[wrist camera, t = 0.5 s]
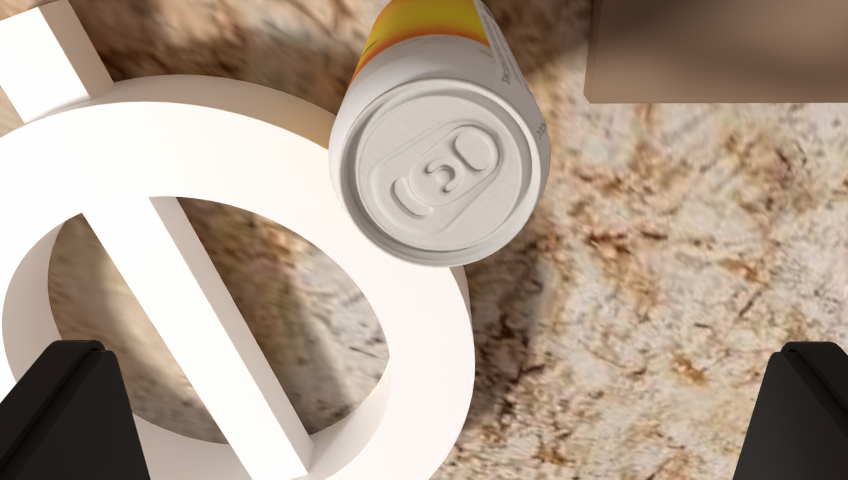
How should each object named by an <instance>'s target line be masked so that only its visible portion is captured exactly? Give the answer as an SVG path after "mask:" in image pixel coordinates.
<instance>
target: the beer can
mask: <svg viewBox="0 0 848 480" xmlns="http://www.w3.org/2000/svg"><path fill="white" fill-rule="evenodd" d="M550 154H551V150H550V141H549V135H548V131H547V127H546V124H545V121H544V119H543V116H542V114H541V112H540V109H539V107H538V105H537V103H536V101H535V99H534V97H533V95H532V93H531V91H530V89H529V87H528V85H527V83H526V81H525V79H524V77H523V75H522V73H521V71H520V69H519V67H518V64H517V62H516V60H515V58H514V56H513V54H512V52H511V50H510V48H509V46H508V44H507V42H506V40H505V38H504V36H503V34H502V32H501V30H500V28H499V26H498V24H497V22H496V20H495V18H494V16H493V15H492V13H491V12H490V10H489V9H488V8H487V7H486V6H485V4H484V3H483V2H481V1H480V0H392V1H391V2H390V3H388V4H387V5H386V7H385V8H384V9H383V10H382V11H381V13H380V14H379V16H378V17H377V19H376V21H375V23H374V25H373V28H372V30H371V33H370V35H369V38H368V40H367V43H366V45H365V48H364V50H363V52H362V55H361V57H360V60H359V62H358V65H357V67H356V70H355V72H354V75H353V77H352V80H351V82H350V85H349V87H348V90H347V92H346V95H345V97H344V100H343V102H342V104H341V107H340V109H339V112H338V114H337V117H336V120H335V122H334V125H333V128H332V132H331V136H330V141H329V151H328V163H329V172H330V178H331V181H332V185H333V188H334V191H335V193H336V196H337V198H338V200H339V202H340V204H341V206H342V207H343V209H344V211H345V212H346V214H347V215H348V216H349V218H350V219H351V221H352V223H353V224H354V225H355V227H356V228H357V229H358V231H359V232H360V233H361V234H362V235H363V236H364V237H365V238H366V239H367V240H368V241H369V242H370V243H371V244H372V245H374V246H375V247H376V248H378V249H379V250H381V251H382V252H384V253H386V254H387V255H389V256H391V257H393V258H395V259H398V260H400V261H403V262H406V263H409V264H413V265H418V266H423V267H433V268H446V267H455V266H461V265H465V264H469V263H472V262H475V261H478V260H481V259H483V258H485V257H487V256H489V255H491V254H493V253H495V252H496V251H498V250H499V249H501V248H502V247H503V246H505V245H506V244H507V243H509V242H510V241H511V240H512V239H513V238H514V237H515V236H516V235H517V234H518V233H519V232H520V230H521V229H522V228H523V227H524V225H525V224H526V222H527V221H528V219H529V217H530V216H531V214H532V212H533V211H534V209H535V208H536V206H537V204H538V202H539V200H540V198H541V196H542V194H543V191H544V189H545V186H546V183H547V179H548V175H549V169H550Z"/></svg>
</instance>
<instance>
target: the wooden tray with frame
mask: <svg viewBox="0 0 848 480" xmlns="http://www.w3.org/2000/svg"><path fill="white" fill-rule="evenodd" d="M584 96H585V97H586V98H587V100H588V101H589V102H590V103H848V0H594V4H593V13H592V22H591V31H590V40H589V49H588V58H587V67H586V76H585V85H584Z"/></svg>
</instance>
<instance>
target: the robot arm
mask: <svg viewBox="0 0 848 480" xmlns="http://www.w3.org/2000/svg"><path fill="white" fill-rule="evenodd" d="M0 480H151V479H150V475H149V471H148V468H147V464H146V461H145V457H144V453H143V450H142V446H141V443H140V439H139V436H138V432H137V428H136V425H135V421H134V418H133V414H132V410H131V407H130V403H129V400H128V396H127V392H126V389H125V385H124V382H123V378H122V375H121V371H120V367H119V364H118V360H117V357H116V355H115V354H114V352H113V351H110V350H105V348H104V346H103V344H102V343H101V342H100V341H96V340H57V341H54V342H52V343H51V344H50V345H49V346H47V348H46V349H45V350H44V351H43V352H42V354H41V355H40V356H39V357H38V358H37V360H36V361H35V362H34V363H33V364H32V366H31V367H30V368H29V369H28V370H27V372H26V373H25V374H24V375H23V376H22V377H21V379H20V380H19V381H18V382H17V383H16V385H15V386H14V387H13V388H12V389H11V391H10V392H9V393H8V394H7V395H6V397H5V398H4V399H3V400H2V401H1V403H0ZM733 480H848V355H847V354H846V353H845V352H844V351H843V350H842V349H841V348H840V347H839V346H838V345H837V344H836V343H833V342H788V343H786V344H785V345H784V346H783V347H782V349H781V352H775V353H773V354H772V355H771V357H770V359H769V361H768V365H767V368H766V371H765V374H764V378H763V381H762V384H761V388H760V391H759V394H758V398H757V401H756V404H755V407H754V411H753V414H752V417H751V421H750V424H749V427H748V430H747V434H746V437H745V440H744V444H743V447H742V450H741V453H740V457H739V460H738V463H737V467H736V470H735V473H734V477H733Z"/></svg>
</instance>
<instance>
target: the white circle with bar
mask: <svg viewBox="0 0 848 480" xmlns="http://www.w3.org/2000/svg"><path fill="white" fill-rule="evenodd" d="M0 85H1V87H2V88H3V90H4V91H5V93H6V94H7V96H8V98H9V99H10V101H11V102H12V104H13V105H14V107H15V108H16V110H17V112H18V113H19V115H20V116H21V118H22V119H23V121H24V123H25V124H23V125H22V126H20V127H18V128H17V129H15V130H13V131H12V132H10V133H8V134H6V135H5V136H3V137H1V138H0V403H1V401H2V400H3V399H4V398H5V397H6V395H7V394H8V393H9V392H10V391H11V389H12V388H13V387H14V386H15V385H16V383H17V382H18V381H19V380H20V379H21V377H22V376H23V375H24V374H25V373H26V372H27V370H28V369H29V368H30V367H31V366H32V364H33V363H34V362H35V361H36V360H37V358H38V357H39V356H40V355H41V354H42V352H43V351H44V350H45V349H46V348H47V346H49V345H50V344H51V343H52V342H54V341H57V340H62V338H61V336H60V334H59V332H58V329H57V327H56V324H55V321H54V318H53V315H52V311H51V307H50V302H49V296H48V268H49V261H50V256H51V252H52V249H53V246H54V243H55V240H56V238H57V235H58V234H59V232H60V230H61V228H62V226H63V224H64V223H65V221H66V220H67V219H69V218H71V217H73V216H75V215H77V214H79V213H83V215H84V217H85V218H86V220H87V221H88V223H89V224H90V226H91V227H92V229H93V231H94V232H95V234H96V235H97V237H98V238H99V240H100V242H101V243H102V245H103V246H104V248H105V249H106V251H107V253H108V254H109V256H110V257H111V259H112V260H113V262H114V263H115V265H116V267H117V268H118V270H119V271H120V273H121V274H122V276H123V278H124V279H125V281H126V282H127V284H128V285H129V287H130V289H131V290H132V292H133V293H134V295H135V296H136V298H137V299H138V301H139V303H140V304H141V306H142V307H143V309H144V310H145V312H146V314H147V315H148V317H149V318H150V320H151V321H152V323H153V325H154V326H155V328H156V329H157V331H158V332H159V334H160V335H161V337H162V339H163V340H164V342H165V343H166V345H167V346H168V348H169V350H170V351H171V353H172V354H173V356H174V357H175V359H176V361H177V362H178V364H179V365H180V367H181V368H182V370H183V371H184V373H185V375H186V376H187V378H188V379H189V381H190V382H191V384H192V386H193V387H194V389H195V390H196V392H197V393H198V395H199V397H200V398H201V400H202V401H203V403H204V404H205V406H206V408H207V409H208V411H209V412H210V414H211V415H212V417H213V418H214V420H215V422H216V423H217V425H218V426H219V428H220V429H221V431H222V433H223V434H224V436H225V437H226V439H227V440H228V442H229V444H230V445H227V444H219V443H212V442H207V441H202V440H197V439H193V438H190V437H186V436H182V435H179V434H177V433H174V432H171V431H168V430H166V429H163V428H161V427H158V426H156V425H154V424H152V423H150V422H148V421H146V420H144V419H142V418H140V417H138V416H137V415H135V414H133V413H132V414H133V418H134V421H135V425H136V428H137V432H138V436H139V439H140V443H141V446H142V450H143V453H144V457H145V461H146V464H147V468H148V471H149V475H150V479H151V480H428V479H429V478H430V477H431V476H432V475H433V473H434V472H435V471H436V470H437V469H438V467H439V466H440V465H441V463H442V462H443V461H444V459H445V458H446V457H447V455H448V453H449V452H450V450H451V449H452V447H453V445H454V444H455V442H456V440H457V438H458V436H459V434H460V432H461V429H462V427H463V424H464V422H465V419H466V416H467V413H468V410H469V406H470V402H471V397H472V393H473V385H474V376H475V352H474V339H473V329H472V319H471V309H470V298H469V291H468V284H467V279H466V275H465V270H464V266H463V265H461V266H455V267H446V268H433V267H423V266H418V265H413V264H409V263H406V262H403V261H400V260H398V259H395V258H393V257H391V256H389V255H387V254H386V253H384V252H382V251H381V250H379V249H378V248H376V247H375V246H374V245H372V244H371V243H370V242H369V241H368V240H367V239H366V238H365V237H364V236H363V235H362V234H361V233H360V232H359V231H358V229H357V228H356V227H355V225H354V224H353V223H352V221H351V219H350V218H349V216H348V215H347V214H346V212H345V211H344V209H343V207H342V206H341V204H340V202H339V200H338V198H337V196H336V193H335V191H334V188H333V185H332V181H331V178H330V172H329V163H328V151H329V141H330V136H331V132H332V128H333V125H334V122H335V120H336V117H337V116H336V115H334V114H332V113H331V112H329V111H327V110H325V109H323V108H321V107H319V106H317V105H314V104H312V103H310V102H308V101H306V100H303V99H301V98H298V97H296V96H293V95H290V94H288V93H285V92H282V91H279V90H276V89H272V88H269V87H266V86H262V85H258V84H254V83H250V82H246V81H241V80H235V79H229V78H223V77H214V76H204V75H181V74H179V75H157V76H148V77H139V78H134V79H128V80H123V81H118V82H113V81H112V79H111V77H110V75H109V73H108V72H107V70H106V68H105V66H104V64H103V63H102V61H101V59H100V57H99V55H98V54H97V52H96V50H95V48H94V46H93V45H92V43H91V41H90V39H89V37H88V36H87V34H86V32H85V30H84V28H83V27H82V25H81V23H80V21H79V19H78V18H77V16H76V14H75V12H74V10H73V9H72V7H71V5H70V3H69V1H68V0H58V1H55V2H52V3H49V4H45V5H42V6H39V7H36V8H33V9H31V10H28V11H26V12H23V13H20V14H18V15H15V16H12V17H10V18H7V19H5V20H2V21H0ZM176 197H188V198H197V199H204V200H210V201H215V202H219V203H224V204H228V205H232V206H235V207H239V208H242V209H245V210H248V211H251V212H254V213H256V214H259V215H261V216H264V217H266V218H269V219H271V220H273V221H275V222H277V223H279V224H281V225H283V226H285V227H287V228H289V229H291V230H292V231H294V232H296V233H298V234H299V235H301V236H302V237H304V238H305V239H307V240H309V241H310V242H312V243H313V244H314V245H316V246H317V247H318V248H320V249H321V250H322V251H324V252H325V253H326V254H327V255H328V256H330V257H331V258H332V259H333V260H334V261H335V262H336V263H337V264H338V265H339V266H341V267H342V268H343V269H344V270H345V272H346V273H347V274H348V275H349V276H350V277H351V278H352V279H353V280H354V282H355V283H356V284H357V285H358V287H359V288H360V289H361V291H362V292H363V293H364V295H365V296H366V298H367V299H368V301H369V302H370V304H371V306H372V308H373V309H374V311H375V313H376V315H377V317H378V319H379V321H380V324H381V326H382V329H383V331H384V334H385V337H386V341H387V344H388V349H389V354H390V359H389V362H388V365H387V367H386V369H385V372H384V373H383V375H382V377H381V379H380V381H379V382H378V384H377V385H376V387H375V388H374V390H373V391H372V392H371V394H370V395H369V396H368V397H367V398H366V399H365V400H364V401H363V402H362V403H361V404H360V405H359V406H358V407H357V408H356V409H355V410H354V411H352V412H351V413H350V414H349V415H347V416H346V417H344V418H343V419H341V420H340V421H338V422H337V423H335V424H333V425H331V426H329V427H327V428H326V429H323V430H321V431H319V432H317V433H314V434H311V435H308V434H307V432H306V430H305V428H304V426H303V425H302V423H301V421H300V419H299V417H298V416H297V414H296V412H295V410H294V408H293V407H292V405H291V403H290V401H289V399H288V398H287V396H286V394H285V392H284V390H283V389H282V387H281V385H280V383H279V382H278V380H277V378H276V376H275V374H274V373H273V371H272V369H271V367H270V365H269V364H268V362H267V360H266V358H265V356H264V355H263V353H262V351H261V349H260V347H259V346H258V344H257V342H256V340H255V338H254V337H253V335H252V333H251V331H250V329H249V328H248V326H247V324H246V322H245V321H244V319H243V317H242V315H241V313H240V312H239V310H238V308H237V306H236V304H235V303H234V301H233V299H232V297H231V295H230V294H229V292H228V290H227V288H226V286H225V285H224V283H223V281H222V279H221V277H220V276H219V274H218V272H217V270H216V268H215V267H214V265H213V263H212V261H211V260H210V258H209V256H208V254H207V252H206V251H205V249H204V247H203V245H202V243H201V242H200V240H199V238H198V236H197V234H196V233H195V231H194V229H193V227H192V225H191V224H190V222H189V220H188V218H187V216H186V215H185V213H184V211H183V209H182V207H181V206H180V204H179V202H178V200H177V199H176Z"/></svg>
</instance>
